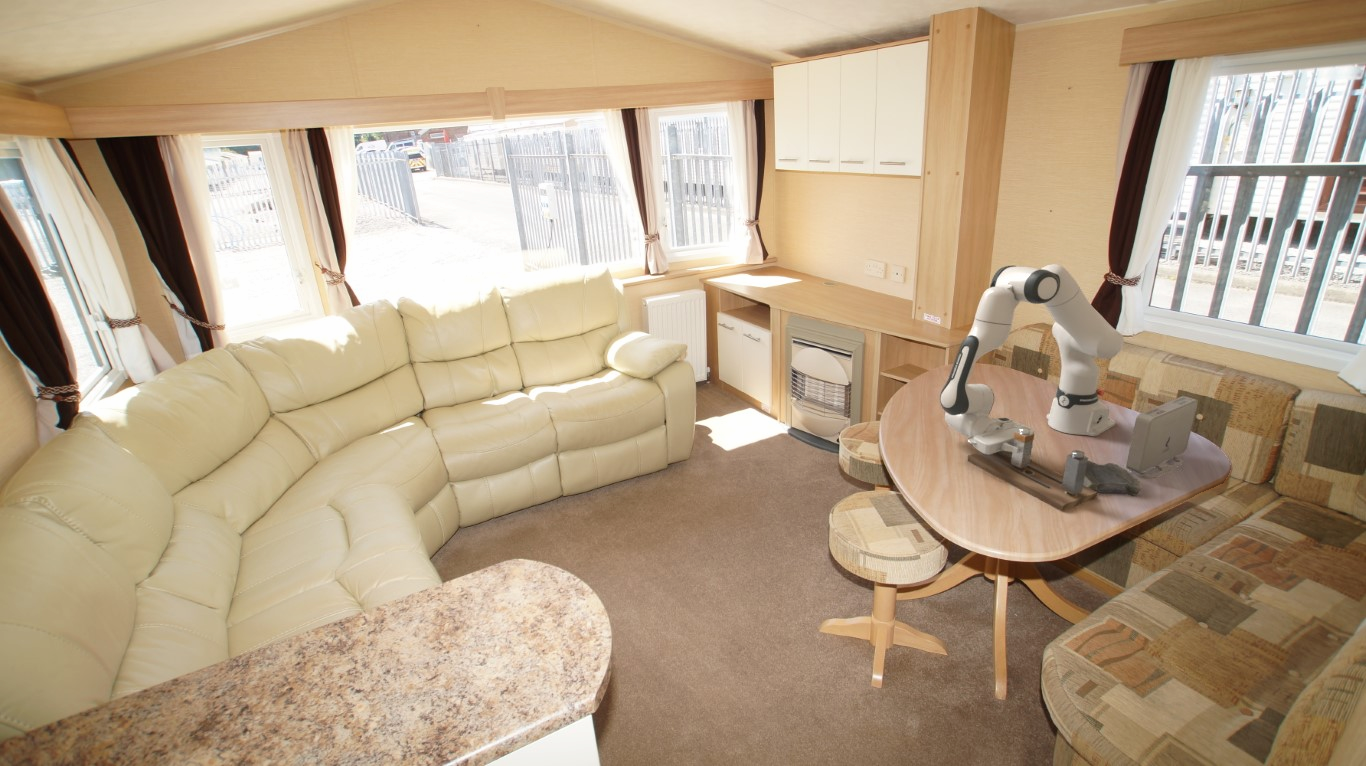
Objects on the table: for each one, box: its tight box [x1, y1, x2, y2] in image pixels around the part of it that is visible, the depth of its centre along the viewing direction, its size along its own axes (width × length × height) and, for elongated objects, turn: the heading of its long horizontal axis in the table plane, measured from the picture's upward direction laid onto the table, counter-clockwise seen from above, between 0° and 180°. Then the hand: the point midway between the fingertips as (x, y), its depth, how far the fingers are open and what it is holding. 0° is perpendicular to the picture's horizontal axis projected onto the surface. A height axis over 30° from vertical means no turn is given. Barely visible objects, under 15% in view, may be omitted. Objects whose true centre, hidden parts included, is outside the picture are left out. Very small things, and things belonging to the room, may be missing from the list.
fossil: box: [1083, 459, 1142, 497], centre depth 189 cm, size 15×16×4 cm
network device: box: [1125, 395, 1199, 479], centre depth 193 cm, size 26×9×20 cm, turn 117°
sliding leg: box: [1011, 426, 1035, 468], centre depth 194 cm, size 4×4×13 cm
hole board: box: [967, 450, 1099, 512], centre depth 194 cm, size 14×34×3 cm, turn 23°
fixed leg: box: [1061, 449, 1089, 495], centre depth 179 cm, size 4×4×13 cm
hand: (1024, 449), depth 193 cm, fingers closed on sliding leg, 4 cm apart
